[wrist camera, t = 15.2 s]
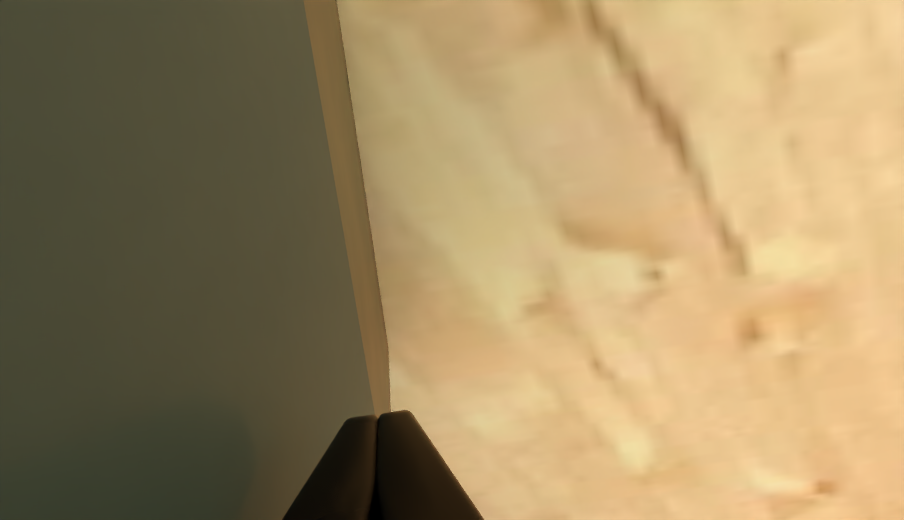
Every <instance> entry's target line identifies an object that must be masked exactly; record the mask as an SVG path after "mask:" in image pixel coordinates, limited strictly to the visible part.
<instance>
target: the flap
mask: <svg viewBox="0 0 904 520" xmlns="http://www.w3.org/2000/svg"><path fill="white" fill-rule="evenodd" d="M365 415H375V412H374V406H373V400H372V394H371V389H370V383H369V377H368V371H367V365H366V360H365V354H364V348H363V342H362V336H361V331H360V325H359V319H358V313H357V308H356V302H355V296H354V290H353V284H352V279H351V273H350V267H349V261H348V255H347V250H346V244H345V238H344V232H343V226H342V221H341V215H340V209H339V203H338V197H337V192H336V186H335V180H334V174H333V168H332V163H331V157H330V151H329V145H328V139H327V134H326V128H325V122H324V116H323V110H322V105H321V99H320V93H319V87H318V81H317V76H316V70H315V64H314V58H313V52H312V47H311V41H310V35H309V29H308V23H307V18H306V12H305V6H304V0H0V520H282V519H283V517H284V515H285V514H286V512H287V511H288V509H289V508H290V506H291V504H292V503H293V501H294V500H295V498H296V497H297V495H298V494H299V492H300V490H301V489H302V487H303V486H304V484H305V483H306V481H307V480H308V478H309V476H310V475H311V473H312V472H313V470H314V469H315V467H316V466H317V464H318V462H319V461H320V459H321V458H322V456H323V455H324V453H325V452H326V450H327V448H328V447H329V445H330V444H331V442H332V441H333V439H334V437H335V436H336V434H337V433H338V431H339V430H340V428H341V427H342V425H343V423H344V422H345V421H346V420H347V419H348V418H351V417H358V416H365Z"/></svg>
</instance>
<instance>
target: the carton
mask: <svg viewBox="0 0 904 520" xmlns="http://www.w3.org/2000/svg"><path fill="white" fill-rule="evenodd" d="M304 6H305V12H306V18H307V23H308V29H309V35H310V41H311V47H312V52H313V58H314V64H315V70H316V76H317V81H318V87H319V93H320V99H321V105H322V110H323V116H324V122H325V128H326V134H327V139H328V145H329V151H330V157H331V163H332V168H333V174H334V180H335V186H336V192H337V197H338V203H339V209H340V215H341V221H342V226H343V232H344V238H345V244H346V250H347V255H348V261H349V267H350V273H351V279H352V284H353V290H354V296H355V302H356V308H357V313H358V319H359V325H360V331H361V336H362V342H363V348H364V354H365V360H366V365H367V371H368V377H369V383H370V389H371V394H372V400H373V406H374V412H375V415H377V416H378V418H379V416H380V415H381V414H382V413H388V412H391V408H390V379H389V351H388V343H387V336H386V329H385V323H384V316H383V309H382V303H381V296H380V289H379V283H378V276H377V269H376V262H375V256H374V249H373V242H372V236H371V229H370V222H369V216H368V209H367V202H366V196H365V189H364V182H363V175H362V169H361V162H360V155H359V149H358V142H357V135H356V129H355V122H354V115H353V109H352V102H351V95H350V88H349V82H348V75H347V68H346V62H345V55H344V48H343V42H342V35H341V28H340V22H339V15H338V8H337V1H336V0H304Z"/></svg>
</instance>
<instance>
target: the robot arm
mask: <svg viewBox="0 0 904 520" xmlns="http://www.w3.org/2000/svg"><path fill="white" fill-rule="evenodd" d="M282 520H484V519H483V517H482V516H481V514H480V513H479V511H478V510H477V508H476V507H475V505H474V504H473V502H472V501H471V500H470V498H469V497H468V495H467V494H466V492H465V491H464V489H463V488H462V486H461V485H460V483H459V482H458V480H457V479H456V477H455V476H454V474H453V473H452V472H451V470H450V469H449V467H448V466H447V464H446V463H445V461H444V460H443V458H442V457H441V455H440V454H439V452H438V451H437V449H436V448H435V447H434V445H433V444H432V442H431V441H430V439H429V438H428V436H427V435H426V433H425V432H424V430H423V429H422V427H421V426H420V424H419V423H418V422H417V420H416V419H415V417H414V416H413V414H412V413H411V412H410V411H408V410H403V411H395V412H388V413H382V414H381V415H380V416H379V418H378V416H377V415H365V416H358V417H351V418H348V419H347V420H346V421H345V422H344V423H343V425H342V427H341V428H340V430H339V431H338V433H337V434H336V436H335V437H334V439H333V441H332V442H331V444H330V445H329V447H328V448H327V450H326V452H325V453H324V455H323V456H322V458H321V459H320V461H319V462H318V464H317V466H316V467H315V469H314V470H313V472H312V473H311V475H310V476H309V478H308V480H307V481H306V483H305V484H304V486H303V487H302V489H301V490H300V492H299V494H298V495H297V497H296V498H295V500H294V501H293V503H292V504H291V506H290V508H289V509H288V511H287V512H286V514H285V515H284V517H283V519H282Z"/></svg>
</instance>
